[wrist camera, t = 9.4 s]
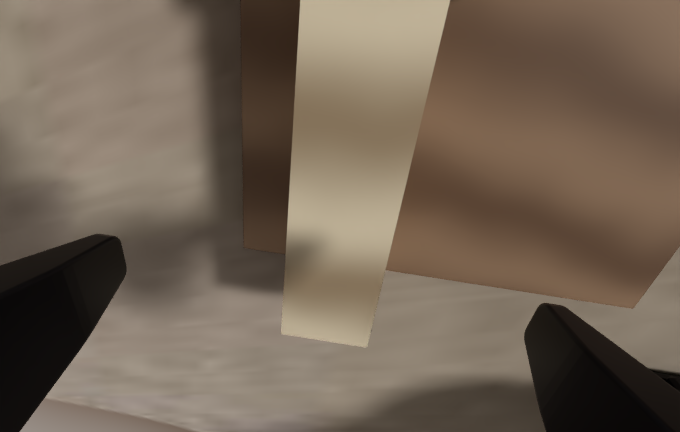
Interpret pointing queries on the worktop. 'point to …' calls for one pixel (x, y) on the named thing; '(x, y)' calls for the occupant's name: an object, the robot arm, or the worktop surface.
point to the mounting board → (508, 145)
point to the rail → (352, 155)
